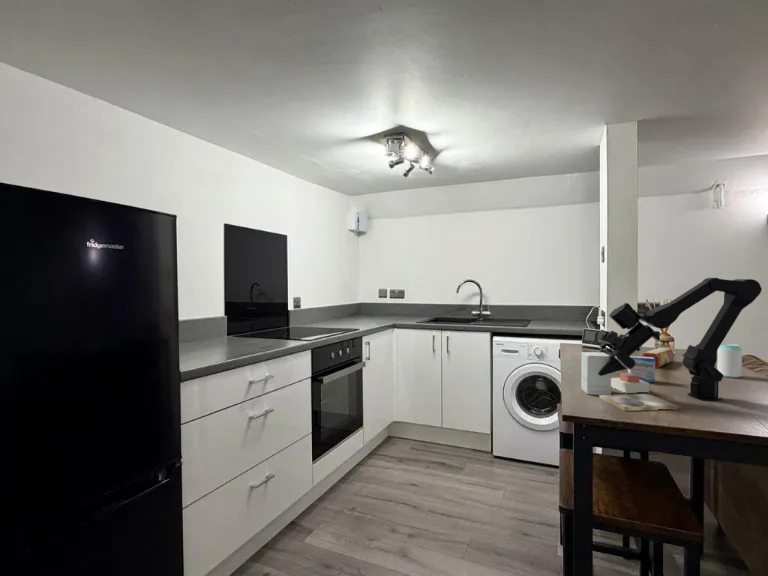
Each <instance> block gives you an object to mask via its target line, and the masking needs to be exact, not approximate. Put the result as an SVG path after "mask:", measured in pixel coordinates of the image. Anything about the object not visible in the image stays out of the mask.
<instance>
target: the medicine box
mask: <svg viewBox="0 0 768 576" xmlns="http://www.w3.org/2000/svg"><path fill="white" fill-rule="evenodd" d="M630 357H631V358H632V359H633V360H634V361H635V366H634V367H633V368H632V369H631V370H630V369H628V368H627V373H633V374H635V375H638V376H639V380H642V381H644V382H647V383H651V382H654V383H655V382H656V368H655V359H654V358H653V357H642V355H640V356H636V355H630Z"/></svg>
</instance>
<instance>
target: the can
mask: <svg viewBox="0 0 768 576" xmlns="http://www.w3.org/2000/svg"><path fill="white" fill-rule="evenodd" d="M742 363H743V349H742V348H741V347H740V345H739V344H735V343H721V345H720V347H719V348H718V350H717V363H716V365H717V367H716V369H717V370H718V371H720V372H721V373H722V374H723V378H726V379H727V378H728V379H739V378H741V377H742V372H743V371H742V368H743V364H742Z"/></svg>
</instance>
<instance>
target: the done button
mask: <svg viewBox="0 0 768 576" xmlns="http://www.w3.org/2000/svg"><path fill="white" fill-rule="evenodd" d="M619 378H620V380H622V381H625V382H627V383H629V382H639V376H638V375H635V374H633V373H628V372H625V373H624V372H622V373H621V372H620V374H619Z"/></svg>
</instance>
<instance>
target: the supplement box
mask: <svg viewBox="0 0 768 576" xmlns="http://www.w3.org/2000/svg"><path fill="white" fill-rule="evenodd" d="M608 361H609V355H607V354H606V353H602V352H600V351H597V352H596V351H594V352H593V351H591V352H590V351H584V352H583V351H582V352H581V361H580V362H581V364H580V365H581V367H580V368H581V369H580V370H581V374H580V375H581V377H580V379H581V380H580V383H581V384H580V385H581V386H580V387H581V388H580V389H581V390H582V391H583V392H585V394H587V395H593V396H595V395H596V396H599V395H612V387H611V378H612V373H609V374H606V375H603V376H600V375H599V374H598V373H599V371H600V370H601V369H602V368H603V367H604V366H605V364H606V363H607V362H608Z"/></svg>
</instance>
